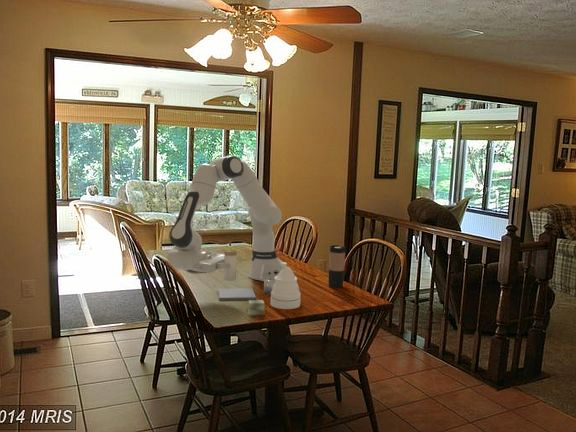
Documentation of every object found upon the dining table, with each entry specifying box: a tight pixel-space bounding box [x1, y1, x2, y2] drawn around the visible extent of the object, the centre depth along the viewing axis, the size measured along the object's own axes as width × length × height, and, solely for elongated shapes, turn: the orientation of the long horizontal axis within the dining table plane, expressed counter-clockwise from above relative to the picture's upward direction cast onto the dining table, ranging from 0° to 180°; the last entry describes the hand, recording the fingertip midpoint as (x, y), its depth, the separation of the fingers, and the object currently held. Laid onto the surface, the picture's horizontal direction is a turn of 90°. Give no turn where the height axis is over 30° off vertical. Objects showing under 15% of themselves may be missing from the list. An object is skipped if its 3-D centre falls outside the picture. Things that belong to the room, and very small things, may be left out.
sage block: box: [247, 299, 265, 316], centre depth 206 cm, size 6×4×5 cm, turn 101°
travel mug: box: [327, 244, 346, 289], centre depth 250 cm, size 8×8×20 cm
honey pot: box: [270, 261, 302, 310], centre depth 219 cm, size 13×13×18 cm
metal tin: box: [263, 278, 276, 295], centre depth 236 cm, size 6×6×6 cm
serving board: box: [217, 287, 257, 301], centre depth 230 cm, size 16×14×1 cm
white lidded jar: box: [223, 249, 238, 282], centre depth 219 cm, size 5×5×12 cm
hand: (232, 264), depth 218 cm, fingers closed on white lidded jar, 5 cm apart
